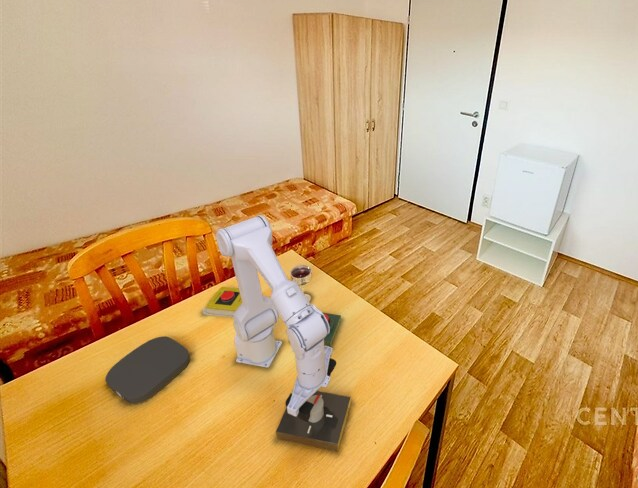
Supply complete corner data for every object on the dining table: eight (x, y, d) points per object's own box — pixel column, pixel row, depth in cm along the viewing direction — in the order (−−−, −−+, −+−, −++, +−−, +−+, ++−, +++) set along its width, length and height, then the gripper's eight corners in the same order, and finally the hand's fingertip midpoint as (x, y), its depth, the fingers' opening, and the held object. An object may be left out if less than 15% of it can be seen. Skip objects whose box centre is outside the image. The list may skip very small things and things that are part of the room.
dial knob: (318, 425, 71) (317, 415, 69) (302, 419, 72) (301, 409, 70) (327, 407, 74) (326, 397, 72) (312, 401, 75) (311, 391, 73)
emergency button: (216, 282, 105) (260, 287, 105) (218, 292, 107) (261, 297, 107) (198, 303, 97) (246, 308, 97) (201, 314, 99) (248, 319, 98)
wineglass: (318, 297, 108) (316, 270, 103) (302, 310, 103) (300, 281, 98) (304, 289, 111) (301, 261, 106) (288, 300, 106) (285, 272, 101)
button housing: (290, 341, 93) (289, 331, 91) (304, 314, 102) (303, 305, 100) (330, 347, 91) (330, 338, 90) (340, 320, 100) (340, 311, 99)
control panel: (277, 439, 70) (275, 431, 69) (296, 394, 79) (295, 386, 78) (337, 451, 69) (337, 443, 68) (350, 404, 78) (350, 396, 77)
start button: (314, 326, 93) (314, 322, 93) (319, 317, 97) (318, 313, 96) (326, 328, 93) (326, 324, 92) (330, 319, 96) (330, 314, 95)
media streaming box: (197, 359, 86) (194, 352, 84) (136, 411, 73) (133, 403, 72) (162, 337, 91) (160, 330, 89) (101, 382, 79) (97, 374, 77)
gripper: (308, 403, 58) (311, 443, 64) (344, 338, 70) (344, 377, 76) (275, 389, 60) (282, 430, 65) (316, 329, 72) (319, 367, 78)
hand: (313, 401), depth 71 cm, fingers open, 7 cm apart
